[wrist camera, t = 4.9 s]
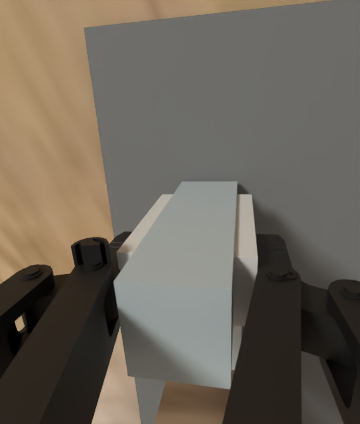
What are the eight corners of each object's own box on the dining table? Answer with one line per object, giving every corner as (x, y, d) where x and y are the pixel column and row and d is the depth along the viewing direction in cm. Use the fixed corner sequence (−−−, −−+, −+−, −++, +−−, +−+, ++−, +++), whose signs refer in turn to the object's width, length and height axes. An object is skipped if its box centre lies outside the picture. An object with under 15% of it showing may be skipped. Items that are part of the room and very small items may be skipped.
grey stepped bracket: (175, 181, 18) (99, 280, 8) (244, 181, 17) (247, 290, 8) (189, 420, 25) (158, 617, 16) (239, 428, 24) (236, 639, 15)
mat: (87, 29, 16) (83, 27, 16) (802, -49, 11) (821, -54, 11) (144, 429, 28) (142, 433, 27) (507, 489, 22) (512, 496, 22)
